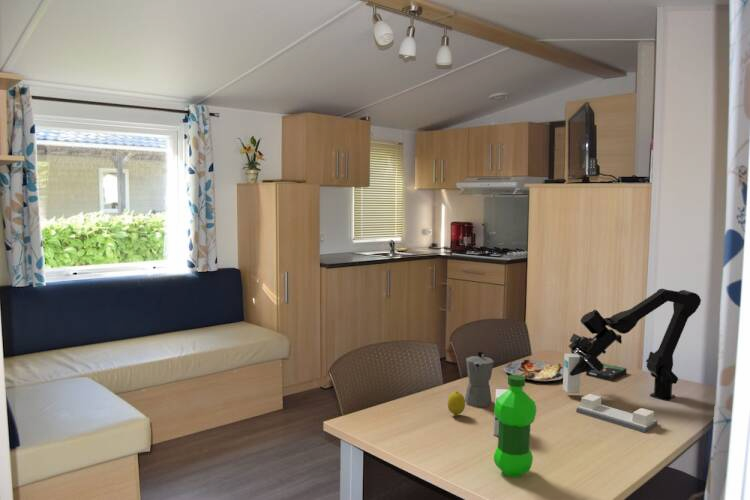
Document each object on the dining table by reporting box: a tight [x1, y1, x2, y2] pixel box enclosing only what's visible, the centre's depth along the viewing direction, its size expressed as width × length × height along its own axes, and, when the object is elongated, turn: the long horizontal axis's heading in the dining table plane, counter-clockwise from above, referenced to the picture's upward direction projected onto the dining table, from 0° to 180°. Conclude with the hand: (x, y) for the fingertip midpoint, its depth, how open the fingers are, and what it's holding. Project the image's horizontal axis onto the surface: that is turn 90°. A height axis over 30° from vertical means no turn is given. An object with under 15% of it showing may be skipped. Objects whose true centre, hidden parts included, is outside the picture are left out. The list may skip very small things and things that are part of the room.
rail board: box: [576, 393, 659, 434], centre depth 187 cm, size 10×22×4 cm, turn 43°
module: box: [562, 353, 582, 394], centre depth 206 cm, size 5×4×13 cm
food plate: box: [503, 358, 564, 383], centre depth 231 cm, size 25×23×4 cm
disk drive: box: [585, 363, 628, 382], centre depth 233 cm, size 10×3×15 cm
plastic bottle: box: [493, 374, 537, 478], centre depth 148 cm, size 10×10×25 cm
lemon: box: [447, 390, 466, 417], centre depth 186 cm, size 6×6×8 cm
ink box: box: [493, 388, 509, 437], centre depth 174 cm, size 9×5×12 cm, turn 168°
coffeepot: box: [464, 350, 495, 408], centre depth 199 cm, size 15×9×18 cm, turn 163°
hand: (568, 372), depth 206 cm, fingers closed on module, 4 cm apart
